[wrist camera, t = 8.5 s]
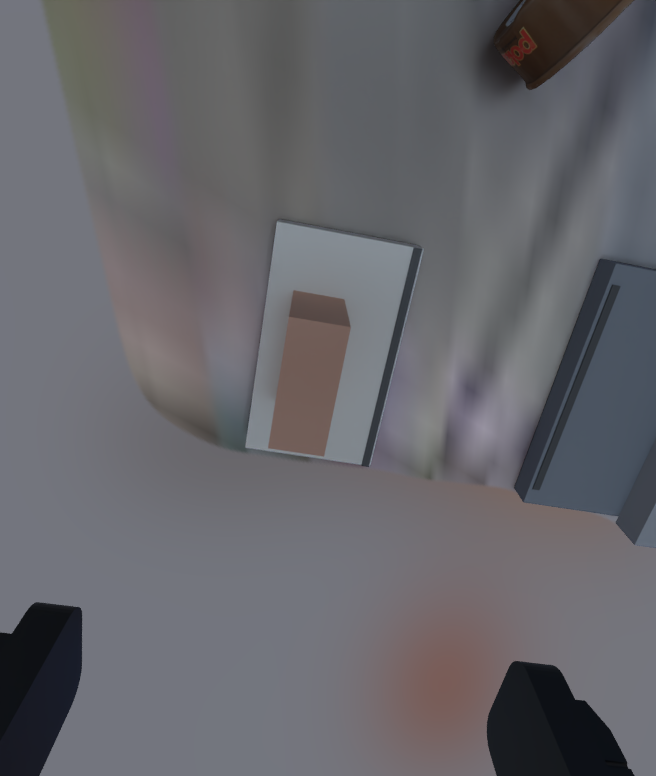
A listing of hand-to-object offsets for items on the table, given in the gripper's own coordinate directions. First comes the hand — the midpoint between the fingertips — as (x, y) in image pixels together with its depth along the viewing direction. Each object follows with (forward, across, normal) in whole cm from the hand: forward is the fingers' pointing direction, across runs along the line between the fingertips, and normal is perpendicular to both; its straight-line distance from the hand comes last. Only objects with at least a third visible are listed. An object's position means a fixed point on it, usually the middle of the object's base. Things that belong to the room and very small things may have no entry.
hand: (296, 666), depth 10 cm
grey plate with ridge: (+20, -19, 0) cm, 28 cm away
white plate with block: (+20, -1, 0) cm, 20 cm away
